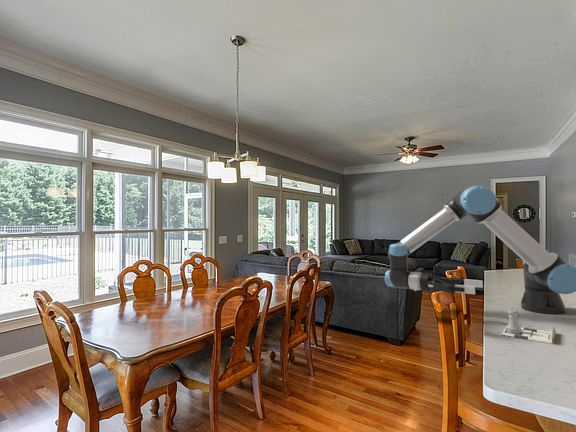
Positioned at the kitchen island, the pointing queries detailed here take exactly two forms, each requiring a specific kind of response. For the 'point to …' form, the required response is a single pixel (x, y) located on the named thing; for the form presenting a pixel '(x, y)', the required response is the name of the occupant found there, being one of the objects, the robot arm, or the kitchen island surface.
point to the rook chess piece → (513, 322)
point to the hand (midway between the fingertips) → (479, 287)
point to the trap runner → (534, 335)
